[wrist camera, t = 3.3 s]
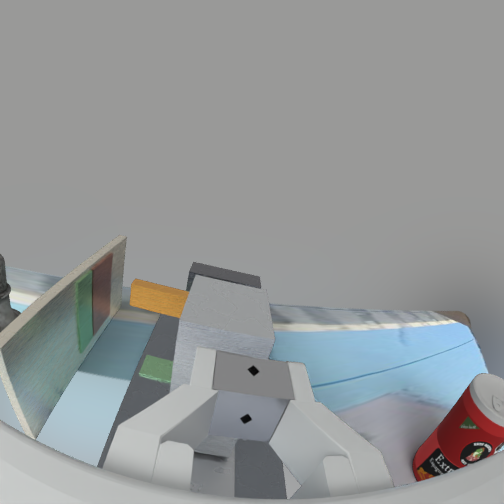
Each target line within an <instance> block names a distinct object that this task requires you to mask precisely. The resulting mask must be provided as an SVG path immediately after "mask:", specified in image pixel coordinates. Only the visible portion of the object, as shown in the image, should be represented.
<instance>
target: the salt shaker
mask: <svg viewBox="0 0 504 504" xmlns="http://www.w3.org/2000/svg"><path fill="white" fill-rule="evenodd" d="M10 291H11V287H10V285H9V284H8V283H7V281H6V272H5V261H4V258H3V257H2V255H1V254H0V333H1V332H2V331H3V330H4V329H5V328H6V327H7V326H8V325H9V324H10V323H11V322H12V321H13V320H15V319H16V318H17V317H18V316H19V315H20V314H21V313H20V312H19V311H17V310H15V309H12V308H11V306H10V299H9V293H10Z"/></svg>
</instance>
